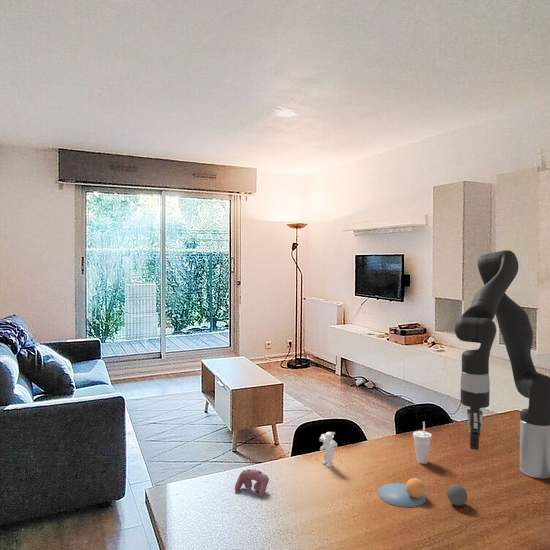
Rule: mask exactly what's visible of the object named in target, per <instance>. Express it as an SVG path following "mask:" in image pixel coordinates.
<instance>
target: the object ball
mask: <svg viewBox="0 0 550 550" xmlns="http://www.w3.org/2000/svg"><path fill="white" fill-rule="evenodd" d="M405 484H406V491H407V493H408V494H409V495H410V496H411V497H413V498H421V497H422V496H423V495H424V494H425V492H426V486H425V484H424V482H423V480H421V479H419V478H416V477H412V478H410V479H408V480H407V482H406V483H405Z"/></svg>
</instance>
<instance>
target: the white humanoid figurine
mask: <svg viewBox="0 0 550 550" xmlns="http://www.w3.org/2000/svg"><path fill="white" fill-rule="evenodd" d="M335 435H336V432H335V431H327V432H326V433H322V434H321V435H320V437H319V442H322V446H320V448H319V451H321V452H322V451H324V454H323V458H324V459H323V461H322V464H323V465H325V466H326V467H327V468H332V467H333V466H334V464H333V463H334V462H333V460H334V458H335V457H334V456H335V455H334V454H335V450H336V449H337V448H338V443H337V442H336V441H335V440H334V439H333V438H334V437H335ZM332 459H333V460H332Z"/></svg>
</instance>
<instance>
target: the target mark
mask: <svg viewBox="0 0 550 550" xmlns="http://www.w3.org/2000/svg"><path fill="white" fill-rule="evenodd" d="M406 484H407V483H401V482H392V483H390V482H389V483H386V484H383V485H381V486H380V487H379V488H378V489H377V495H378V497H379V498H380V499H381V500H382V501H384V502H385V503H387V504H389V505H392V506H395V507H399V508H416V506H417V507H420V506H422V505H424V504H425V502H426V501H427V495H426V494H425V493H424V495H423V496H422V497H421V498H413V497H411V496H410V495H409V494H408V493H407V491H406Z"/></svg>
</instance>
